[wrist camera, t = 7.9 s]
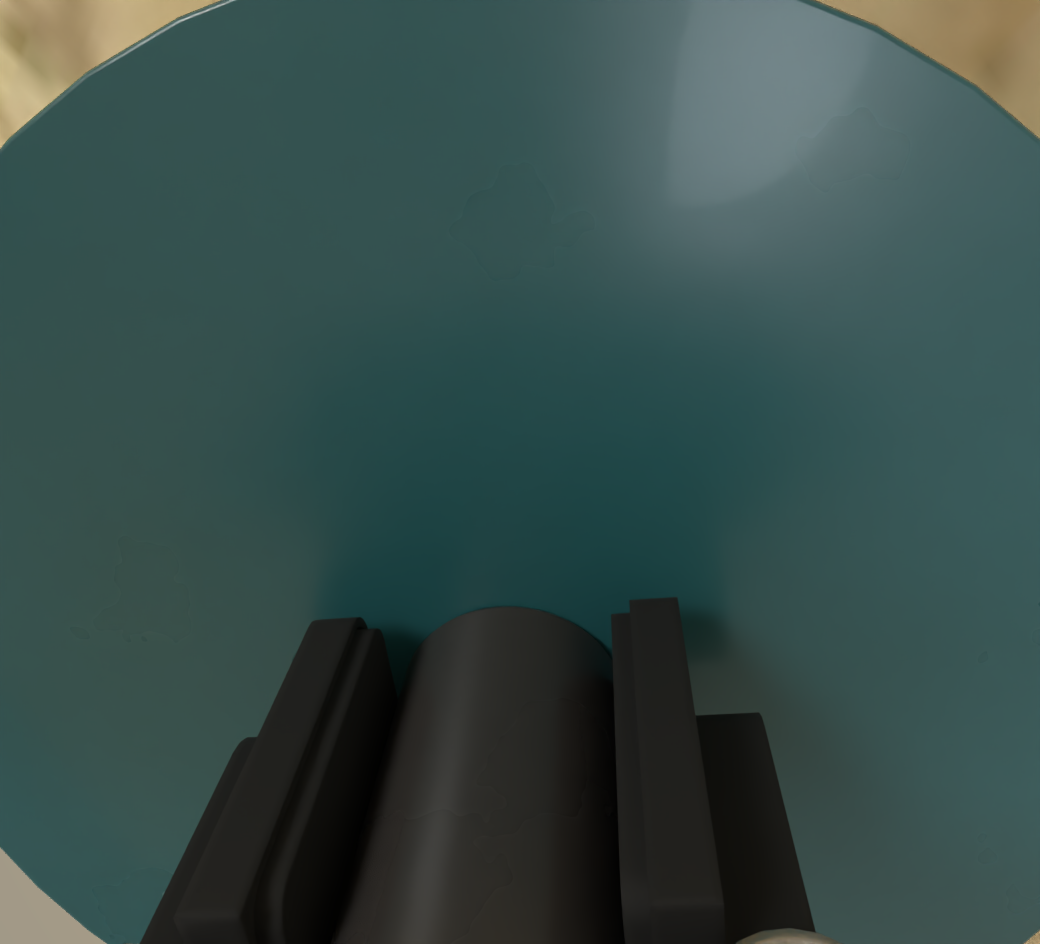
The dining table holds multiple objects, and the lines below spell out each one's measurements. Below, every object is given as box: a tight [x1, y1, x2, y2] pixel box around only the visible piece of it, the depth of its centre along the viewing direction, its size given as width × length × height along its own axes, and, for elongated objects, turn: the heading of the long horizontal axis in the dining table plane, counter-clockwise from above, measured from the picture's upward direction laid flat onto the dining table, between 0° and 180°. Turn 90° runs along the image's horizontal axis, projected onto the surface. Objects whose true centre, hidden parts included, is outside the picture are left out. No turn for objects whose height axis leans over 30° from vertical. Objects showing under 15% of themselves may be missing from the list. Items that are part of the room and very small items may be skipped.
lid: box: [0, 0, 1040, 944], centre depth 9 cm, size 16×16×6 cm
